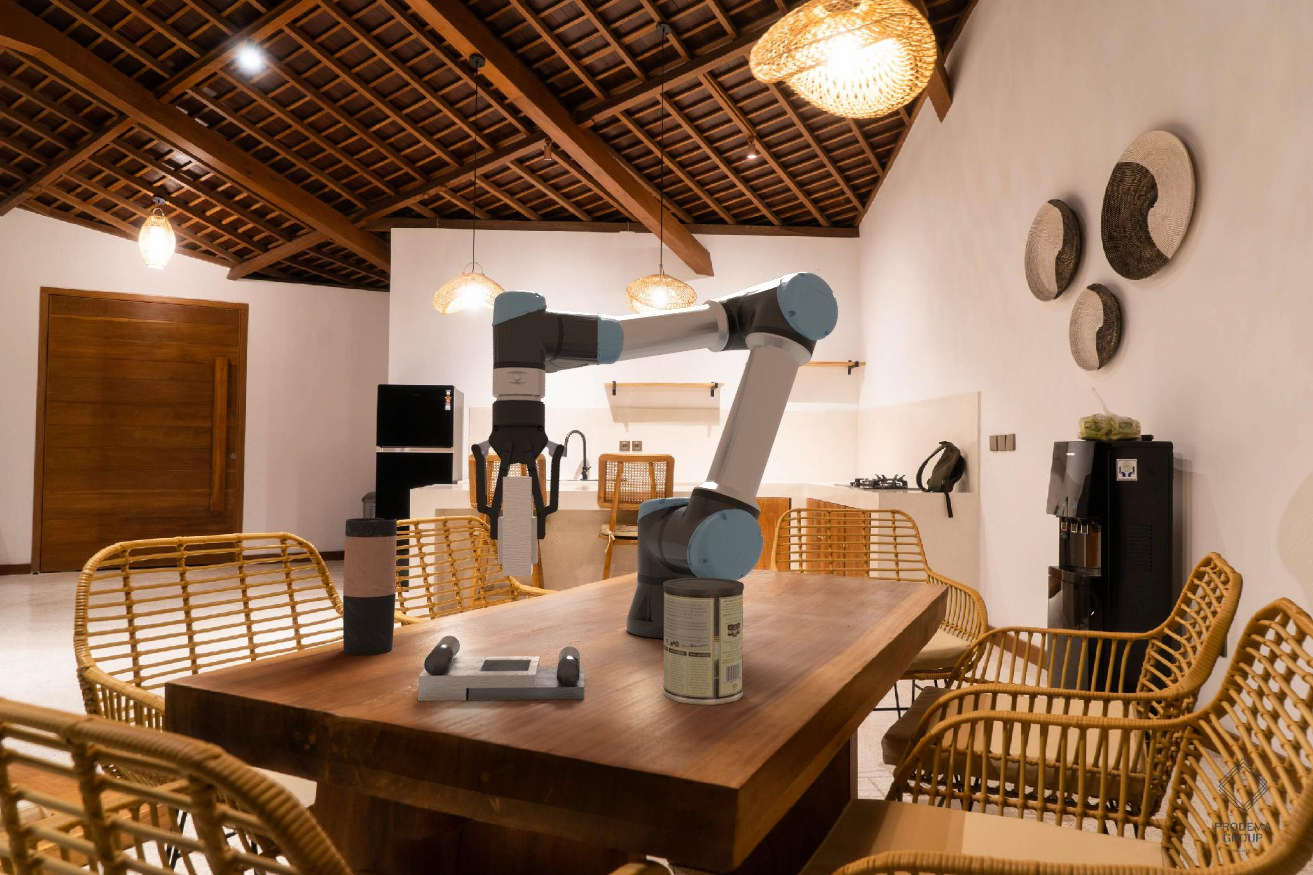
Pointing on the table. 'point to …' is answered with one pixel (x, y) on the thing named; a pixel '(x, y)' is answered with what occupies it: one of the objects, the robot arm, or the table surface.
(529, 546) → the pin
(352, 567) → the travel mug
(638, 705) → the table surface
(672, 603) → the coffee can
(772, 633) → the table surface
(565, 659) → the base with two rollers
